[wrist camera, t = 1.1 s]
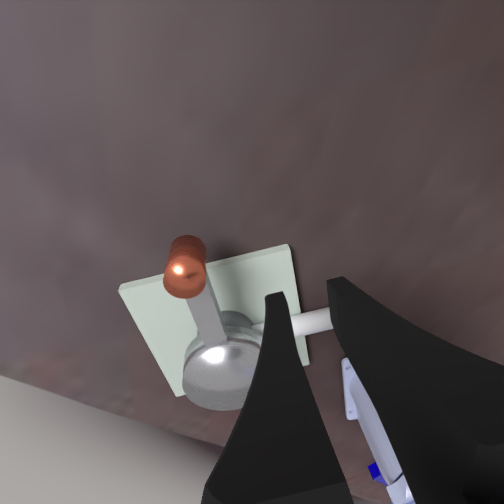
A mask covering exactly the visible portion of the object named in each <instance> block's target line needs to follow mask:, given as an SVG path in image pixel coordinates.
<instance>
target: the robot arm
mask: <svg viewBox="0 0 504 504" xmlns="http://www.w3.org/2000/svg"><path fill="white" fill-rule="evenodd" d="M326 281H327V291H328V300H329V310H330V320H331V323H332V326H333V328H334V331H335V333H336V336H337V338H338V340H339V343H340V345H341V347H342V349H343V351H344V352H345V354H346V356H347V358H344V359H343V360H342V362H341V364H342V375H343V387H344V398H345V410H346V417H347V419H348V420H353V419H358V421H359V424H360V426H361V428H362V431H363V433H364V435H365V438H366V440H367V442H368V444H369V447H370V449H371V451H372V454H373V456H374V458H375V461H376V463H377V465H378V468H379V470H380V472H381V475H382V476H383V478H384V480H385V481H386V483H387V484H388V486H387V487H386V489H387V491H388V493H389V496H390V498H391V500H392V502H391V503H388V504H504V366H503V365H500V364H498V363H495V362H493V361H490V360H487V359H485V358H482V357H480V356H478V355H475V354H473V353H471V352H468V351H466V350H464V349H461V348H459V347H457V346H455V345H452V344H450V343H448V342H446V341H444V340H442V339H440V338H438V337H436V336H434V335H432V334H430V333H428V332H426V331H424V330H422V329H421V328H419V327H417V326H415V325H413V324H412V323H410V322H408V321H407V320H405V319H403V318H402V317H400V316H398V315H397V314H395V313H394V312H392V311H391V310H389V309H388V308H386V307H385V306H383V305H382V304H380V303H379V302H377V301H376V300H374V299H373V298H371V297H370V296H369V295H367V294H366V293H365V292H363V291H362V290H360V289H359V288H358V287H356V286H355V285H354V284H352V283H351V282H350V281H348V280H347V279H346V278H344V277H343V276H342V277H338V278H334V279H330V280H326ZM264 299H265V322H264V330H263V337H262V343H261V347H260V352H259V356H258V361H257V365H256V368H255V372H254V375H253V379H252V382H251V385H250V388H249V391H248V394H247V396H246V399H245V402H244V405H243V407H242V410H241V412H240V415H239V417H238V419H237V421H236V424H235V426H234V428H233V430H232V433H231V435H230V437H229V439H228V442H227V444H226V446H225V448H224V450H223V452H222V454H221V456H220V457H219V459H218V461H217V463H216V465H215V467H214V469H213V471H212V472H211V474H210V476H209V478H208V480H207V482H206V484H205V487H204V491H203V496H202V500H201V504H354V503H353V500H352V497H351V494H350V491H349V488H348V485H347V482H346V479H345V477H344V474H343V472H342V469H341V467H340V464H339V462H338V459H337V457H336V454H335V452H334V449H333V446H332V444H331V441H330V439H329V436H328V434H327V431H326V428H325V426H324V423H323V420H322V418H321V415H320V412H319V410H318V407H317V404H316V402H315V399H314V396H313V393H312V391H311V388H310V385H309V382H308V380H307V377H306V374H305V371H304V368H303V365H302V362H301V360H300V357H299V353H298V350H297V346H296V341H295V336H294V331H293V326H292V321H291V317H290V312H289V307H288V302H287V300H286V297H285V295H284V293H283V291H280V292H276V293H272V294H268V295H266V296H265V298H264Z"/></svg>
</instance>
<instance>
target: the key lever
mask: <svg viewBox="0 0 504 504" xmlns="http://www.w3.org/2000/svg"><path fill="white" fill-rule="evenodd" d="M163 285H164V288H165V290H166V291H167V292H168V293H169V294H170V295H172V296H174V297H176V298H180V299H186V302H187V304H188V307H189V309H190V311H191V314H192V316H193V319H194V321H195V324H196V326H197V328H198V331H199V333H200V335H199V336H197V337H196V338H195V339H194V340H192V342H191V343H190V344H189V345H188V347H187V349H186V352H185V356H184V366H183V378H182V387H183V391H184V393H185V395H186V396H187V397H188V398H189V399H190V400H191V401H192V402H193V403H195V404H197V405H199V406H201V407H204V408H207V409H211V410H220V411H226V410H235V409H240V408H242V407H243V405H244V402H245V399H246V396H247V394H248V391H249V388H250V385H251V382H252V379H253V375H254V372H255V368H256V365H257V361H258V356H259V352H260V347H261V343H262V336H261V335H259V334H258V333H257V332H255V331H253V330H251V329H248V328H244V327H240V326H226V325H225V322H224V319H223V316H222V313H221V310H220V307H219V305H218V302H217V299H216V296H215V293H214V290H213V287H212V284H211V281H210V278H209V276H208V273H207V270H206V247H205V244H204V243H203V242H202V241H201V240H200V239H199V238H197V237H195V236H191V235H184V236H180V237H178V238H176V239H175V240H174V241H173V242H172V244H171V246H170V250H169V255H168V259H167V264H166V268H165V272H164V277H163Z"/></svg>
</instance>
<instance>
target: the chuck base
mask: <svg viewBox="0 0 504 504" xmlns="http://www.w3.org/2000/svg"><path fill="white" fill-rule="evenodd" d="M206 270H207V273H208V276H209V278H210V281H211V284H212V287H213V290H214V293H215V296H216V299H217V302H218V305H219V307H220V310H221V313H222V316H223V319H224V322H225V325H226V326H240V327H244V328H248V329H251V330H253V331H255V332H257V333H258V334H259V335H261V336H262V337H263V330H264V322H265V299H264V298H265V296H266V295H268V294H272V293H276V292H280V291H283V293H284V295H285V297H286V300H287V302H288V307H289V312H290V317H291V321H292V326H293V331H294V336H295V341H296V346H297V350H298V353H299V357H300V360H301V362H302V365H303V366H305V365H309V359H308V353H307V347H306V341H305V335H309V334H313V333H317V332H321V331H326V330H330V329H334V328H333V326H332V323H331V320H330V310H329V307H326V308H322V309H318V310H314V311H310V312H306V313H301V311H300V305H299V299H298V293H297V287H296V282H295V276H294V270H293V264H292V258H291V252H290V248H289V246H288V244H284V245H280V246H276V247H272V248H268V249H263V250H259V251H255V252H251V253H247V254H243V255H239V256H235V257H230V258H226V259H222V260H218V261H214V262H210V263H206ZM163 277H164V274H160V275H156V276H152V277H148V278H144V279H140V280H136V281H132V282H128V283H123V284H121V286H120V288H119V290H118V291H119V293H120V295H121V297H122V299H123V301H124V302H125V304H126V306H127V308H128V310H129V312H130V313H131V315H132V317H133V319H134V321H135V322H136V324H137V326H138V328H139V330H140V332H141V333H142V335H143V337H144V339H145V341H146V342H147V344H148V346H149V348H150V350H151V352H152V353H153V355H154V357H155V359H156V361H157V363H158V364H159V366H160V368H161V370H162V372H163V373H164V375H165V377H166V379H167V381H168V383H169V384H170V386H171V388H172V390H173V392H174V393H175V395H176V397H177V396H182V395H185V393H184V391H183V387H182V378H183V366H184V356H185V352H186V349H187V347H188V345H189V344H190V343H191V342H192V340H194V339H195V338H196V337H197V336H199V335H200V333H199V331H198V328H197V326H196V324H195V321H194V319H193V316H192V314H191V311H190V309H189V307H188V304H187V302H186V299H180V298H176V297H174V296H172V295H170V294H169V293H168V292H167V291H166V290H165V288H164V285H163Z"/></svg>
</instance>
